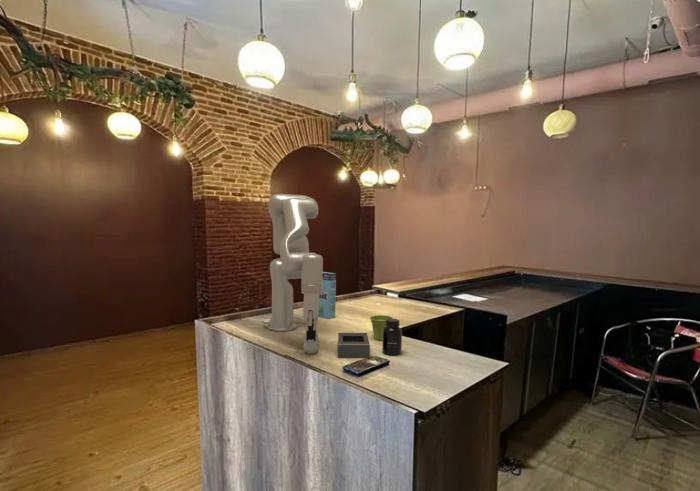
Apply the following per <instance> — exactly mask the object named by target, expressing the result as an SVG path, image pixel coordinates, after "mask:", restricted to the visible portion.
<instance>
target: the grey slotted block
mask: <svg viewBox="0 0 700 491" xmlns="http://www.w3.org/2000/svg"><path fill="white" fill-rule="evenodd" d="M337 337H338V338H337V358H338V359H344V358H345V359H355V358H356V359H370V358H371V356H370V355H371V354H370V353H371V351H370V350H371V344H370V340H369V336H368V333H367V332H338V336H337ZM369 357H370V358H369Z"/></svg>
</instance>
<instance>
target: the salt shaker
mask: <svg viewBox="0 0 700 491" xmlns="http://www.w3.org/2000/svg"><path fill="white" fill-rule="evenodd" d="M308 321H309V320H308ZM312 321H314V320H312ZM305 323H306V324H307V320H306V321H305ZM317 323H318V318H317V321H316V322H315V330H316V341H315V342H314V339H312V340H309V339H308V341H306V335H307V328H306V330H305V336H304V340H303V341H304V342H303V346H302V347H303V349H304V351H305V353H306V354H307V353H308V355H315V354H317V353H318V351H319V348H320V346H321V345H320V341H319V340H320V339H319V335H318V329H317V328H318V327H317ZM312 324H313V323H312ZM316 352H317V353H316Z"/></svg>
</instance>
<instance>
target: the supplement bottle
mask: <svg viewBox="0 0 700 491" xmlns="http://www.w3.org/2000/svg"><path fill="white" fill-rule="evenodd" d="M386 325H387V326H386V327H384V329H383V340H382V353H383V354H384V355H386V356H391V357H392V356H395V357H396V356H399V355H401V354H402V346H403V345H402V344H403V343H402V342H403V339H402V338H403V330H402V328H401V327H400V319H397V318H393V319H387V320H386Z"/></svg>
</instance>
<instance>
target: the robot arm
mask: <svg viewBox="0 0 700 491" xmlns="http://www.w3.org/2000/svg"><path fill="white" fill-rule="evenodd" d="M268 211H269V215H270V218H271V222H272V248H273V252H274V254H276V255H280V257H279V258H278V257H277V258H275V259H273V260H271V261H270V264H269V272H270V279H271V280H270V281H271V318H270V317H269V318H262V319H261V323H263V324H265V325H267V328H268V330H270V331H273V332H288V331H293V330H296V329H297V324H296V323H294V288H293V286H292V284H291V283H290V282H289V280H291V279H292V280H296V279H297V280H298V279H301V282H300V284H301V294H302V295H303V307H302V308H303V309H302V322H303V323H306V320H307V323H306V329H307V335H306V341H308V339H309V340H312V339H314V342H315V341H316V330H315V322H316V321H317V319H318V318H319V316H318V312H319V294H321V293H322V291H323V272H324V269H323V268H324V267H323V266H324V262H323V261H324V258H323V256H322V255H320V254H317V253H315V252H310V248H309V247H310V245H309V244H310V243H309V239H308V237H307V235H308V233H310V227H309V224H308V219H310V220H311V219H312V220H313V219H316V218H317V217H318V215H319V205H318V203H317V201H316V200H315V198H312V197H310V196H308V195H303V194H287V193H276V194H273V195H271V196H270V197H269V199H268ZM308 320H309V321H308ZM312 320H314V321H312ZM312 323H313V324H312Z"/></svg>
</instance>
